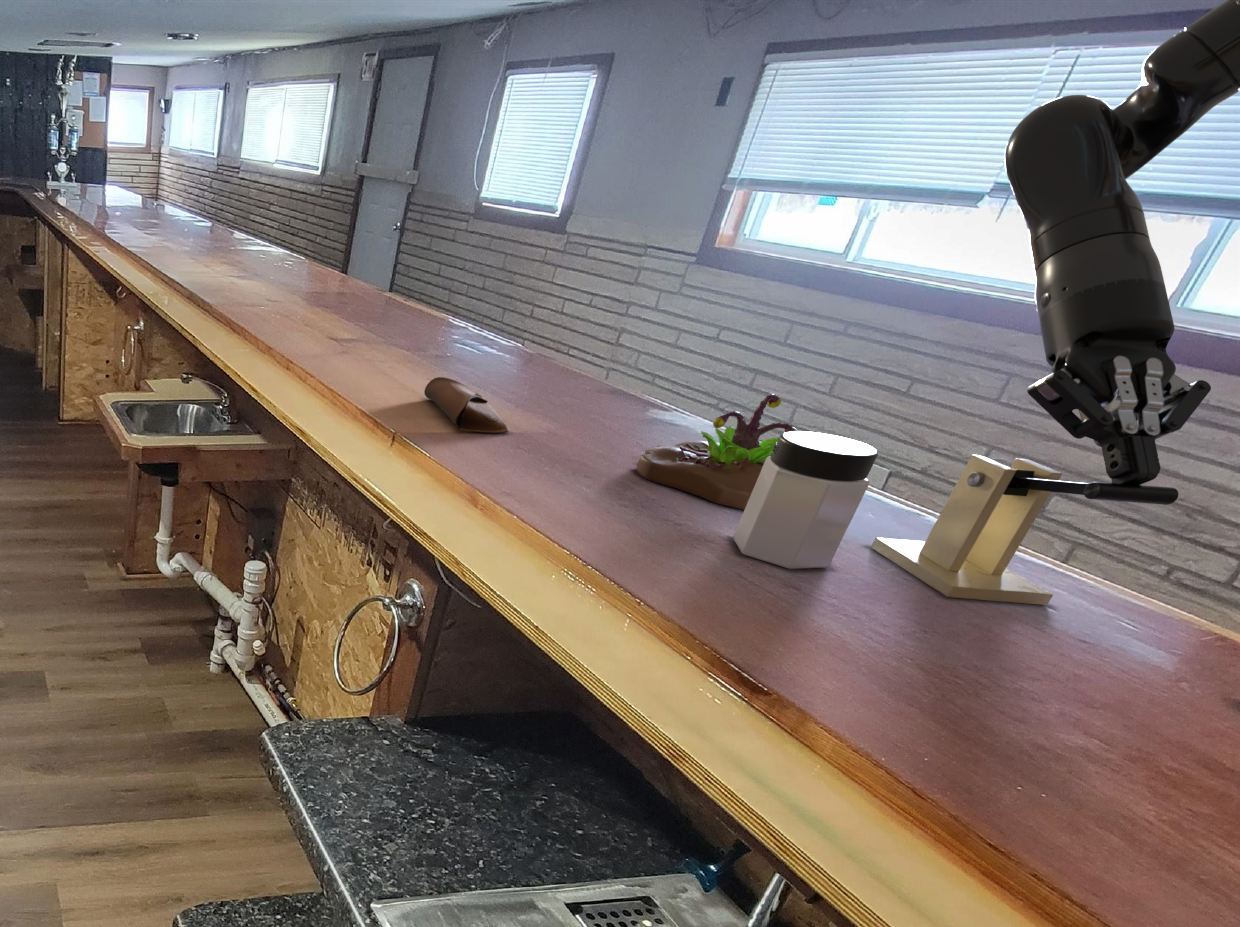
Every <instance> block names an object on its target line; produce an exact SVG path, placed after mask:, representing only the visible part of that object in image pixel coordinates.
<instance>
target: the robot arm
mask: <svg viewBox="0 0 1240 927" xmlns="http://www.w3.org/2000/svg"><path fill="white" fill-rule="evenodd" d="M1239 91H1240V0H1225V1H1223V2H1222V3H1220V4H1219V5H1217V6H1216V7H1215V8H1213V9H1211V10H1210V11H1209V12H1207V13H1205V14H1203V16H1201V17H1199V18H1198V19H1197V20H1195V21H1194V22H1192V23H1191V24H1189V25H1188V26H1186V27H1184V30H1183V29H1182V30H1180V31H1179V32H1177V33H1175V34H1174V35H1173V36H1171V37H1169V39H1166V41H1164V42H1163V43H1161V44H1160V45H1159V46H1157V47H1156V48H1155V49H1154V50H1153V51H1151V53H1149V55H1148V56H1147V57H1146V58H1145V59H1144V61H1143V63H1142V68H1141V81H1140V84H1139V85H1138V87H1137V88H1136V89H1135V90H1134V91H1133V92H1132V93H1130V95H1129V96H1128V97H1127V98H1125V99H1124V100H1123V101H1122V102H1121V103H1119V104H1118V105H1117V106H1116V107H1115V108H1113V109H1112V106H1110V105H1109V104H1108V103H1107V102H1105V101H1104V100H1103V99H1101V98H1099V97H1095V96H1092V95H1086V94H1071V95H1064V96H1060V97H1057V98H1054V99H1051V100H1049V101H1047V102H1045V103H1043V104H1041V105H1039V106H1037V108H1035V109H1033V110H1032V111H1031V112H1029V113H1028V114H1026V116H1024V117H1023V119H1021V121H1020V122H1019V123H1018V124H1017V126H1016V127H1015V128H1014V129H1013V131H1012V132H1011V134H1010V136H1009V138H1008V140H1007V142H1006V146H1005V150H1004V167H1005V172H1006V175H1007V179H1008V183H1009V185H1010V188H1011V190H1012V193H1013V195H1014V198H1015V201H1016V203H1017V207H1018V208H1019V210H1020V213H1021V215H1022V218H1023V220H1024V222H1025V225H1026V228H1027V232H1028V237H1029V249H1030V250H1029V251H1030V256H1031V261H1032V267H1033V273H1034V277H1035V288H1034V289H1035V290H1034V299H1035V305H1036V311H1037V317H1038V321H1039V327H1040V328H1039V329H1040V333H1041V339H1042V344H1043V349H1044V355H1045V361H1046V362H1047V364H1048V365H1049V366H1050V367H1052V370H1051V371H1052V373H1050V374H1049V375H1047V376H1045V377H1043V378H1042V379H1039V380H1038V381H1036V382H1034V383H1032V384H1031V385H1029V386H1027V389H1026V392H1027V394H1028V395H1029V396H1030V397H1031V399H1033V400H1034V401H1035V402H1036V403H1037V404H1038V405H1039V406H1040V407H1041V408H1042V409H1043V410H1045V411H1046V412H1047V414H1049V415H1050V416H1051V417H1052V418H1053V419H1054V420H1055V421H1056V422H1057V423H1058V424H1059V425H1060V426H1061V427H1063V429H1064V430H1065V431H1067V432H1068V433H1069V434H1070V436H1072V437H1073V438H1075V439H1078V440H1080V439H1084V438H1087V439H1091V440H1093V443H1094V444H1095V445H1096V446H1098V447H1100V448H1101V452H1102V457H1103V462H1104V466H1105V468H1104V469H1105V472H1106V474H1107V476H1108V477H1109V479H1110V480H1111V483H1117V484H1131V485H1145V484H1146V483H1148V482H1151V481H1153V480H1156V478H1157V477H1158V476H1159V474H1160V471H1161V463H1160V459H1159V458H1160V457H1159V454H1158V449H1157V444H1156V440H1158V439H1159V438H1160V439H1161V438H1162V437H1165V436H1167V435H1169V434H1172V433H1175V432H1177V431H1179V430H1181V429H1182V428H1183V426H1184V425H1185V424H1186V422H1188V420H1189V419H1190V417H1191V416H1192V415H1193V414H1194V412H1195V411H1196V410H1197V409H1198V407H1199V406H1200V404H1201V403H1202V402H1203V401H1204V400H1205V398H1206V397H1207V396H1208V395H1209V393H1210V392H1211V389H1212V386H1211V384H1210V383H1209V382H1208V381H1206V380H1204V379H1198V380H1196V381H1195V382H1193V383H1189V382H1188V381H1186V380H1185V379H1183V378H1182V377H1180V376H1178V375H1176V374H1175V373H1176V371H1177V367H1176V366H1177V365H1176V363H1175V362H1174V361H1173V360H1172V358H1171V357H1170V356H1169V355H1168V353H1167V347H1168V344H1169V342H1170V340H1171V339H1172V337H1173V335H1174V333H1175V323H1174V319H1173V314H1172V310H1171V305H1170V302H1169V298H1168V292H1167V288H1166V284H1165V279H1164V275H1163V270H1162V265H1161V263H1160V259H1159V257H1158V255H1157V253H1156V252H1155V250H1154V248H1153V245H1152V243H1151V242H1152V241H1151V239H1150V234H1149V230H1148V225H1147V221H1146V217H1145V212H1144V208H1143V206H1142V203H1141V201H1140V199H1139V197H1138V195H1137V193H1136V192H1135V190H1133V188H1132V186H1130V183H1128V181H1127V179H1129V178H1130V177H1131V176H1133V175H1134V174H1135V173H1137V172H1138V171H1139V170H1141V169H1142V168H1143V167H1144V166H1146V165H1147V164H1148V163H1149V162H1151V161H1152V160H1153V159H1155V158H1156V157H1157V156H1158V155H1159V154H1160V153H1161V152H1163V151H1164V150H1165V149H1166V148H1167V147H1169V146H1170V145H1171V144H1172V143H1174V141H1176V140H1177V139H1178V138H1180V137H1181V136H1182V135H1184V134H1185V133H1186V132H1187V131H1189V129H1190V128H1192V126H1194V125H1195V124H1196V123H1197V122H1198V121H1200V119H1202V118H1203V117H1204V116H1205V115H1206V114H1207V113H1208V112H1210V111H1211V110H1212V109H1214V108H1215V107H1216V106H1218V105H1219V104H1221V103H1223V102H1224V101H1226V100H1227V99H1230V97H1233V96H1234V95H1236V94H1238V93H1239ZM1074 410H1078V413H1079V416H1080V418H1079V417H1078V415H1076V413H1074Z"/></svg>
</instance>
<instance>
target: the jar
mask: <svg viewBox="0 0 1240 927" xmlns="http://www.w3.org/2000/svg"><path fill="white" fill-rule="evenodd" d="M778 438H779V439H778V442H777V443H776V444H775V446H774V449H773V453H772V456H768V457H767V458H766V460H765V463H764V465H763V467H762V470H761V472H760V474H759V477H758V479H757V481H756V484H755V486H754V489H753V491H752V493H751V496H750V498H749V500H748V503H747V505H746V508H745V510H743V512H742V514H741V517H740V519H739V522H738V524H737V527H736V529H735V532H734V533H733V536H732V539H733V541H734V542H735V545H736V546H737V548H738V549H739V551H740V552H741V554H742V555H744V556H747V557H749V558H753V559H757V560H760V561H763V562H766V563H769V564H772V565H775V566H778V567H781V568H785V569H788V570H799V569H800V570H802V569H826V568H828V567H830V565H831V563H832V561H833V559H834V556H835V555H836V552H837V551H838V549H839V547H840V545H841V543H842V540H843V538H844V537H845V534H846V533H847V531H848V528H849V526H850V524H851V522H852V520H853V519H854V516H855V514H856V512H857V510H858V508H859V505H860V503H861V501H862V500H863V497H864V496H865V493H866V491H867V489H868V487H869V485H870V483H871V481H870V480H869V479H868V476H869V474H870V472H871V471H872V470H871V469H872V468H873V465H874V464H875V461H876V460H877V457H878V456H879V452H878V450H877V449H876V448H875V447H873V446H871V445H869V444H868V443H865V442H862V441H858V440H856V439H851V438H848V437H844V436H839V435H835V434H828V433H824V432H823V433H822V432H814V431H805V430H804V431H802V430H797V431H792V432H785V431H784V432H783V433H781V434H780V435H779V437H778Z"/></svg>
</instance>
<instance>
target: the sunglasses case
mask: <svg viewBox="0 0 1240 927" xmlns="http://www.w3.org/2000/svg"><path fill="white" fill-rule="evenodd" d="M423 391H424V392H423V394H424V397H426V398H427V399H428V400H430V401H432V402H434V403H435V404H436V406H438V407H439V408H440V409H441V410H442V411H443V412H444V414H446V415H447V417H448V418H449V419H450V420H451V421H452V422H453V423H454V424H455V425H456V426H457V428H458V430H459V431H460V432H467V433H475V434H505V433H509V428H508V426H507V424H506V423H505V421H504V420H503V419H502V418H501V416H500V415H499V414H498V412H497V411H496V410H495V409H494V408H493V407H491V406H490V404H488V402H489V400H488V399H487V398H486V397H485V396H483V395H482V394H480V393H479V392H477V391H475V390H474V389H472V388H470V387H469V386H468V385H466V384H464V383H462V382H460V381H458V380H455V379H451V378H449V377H443V376H438V377H437V376H436V377H434V378H433V379H431V380H430V381H429V382H428V383H427V384H426V385H425V388H424V390H423Z"/></svg>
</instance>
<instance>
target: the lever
mask: <svg viewBox="0 0 1240 927" xmlns="http://www.w3.org/2000/svg"><path fill="white" fill-rule="evenodd" d="M1034 473H1035V471H1028V470H1016V472H1015V474H1014V476H1013V477H1012V479H1011V481H1010V483H1009V484H1008V486H1007V488H1006V490H1005V491H1004V493H1003V495H1014V496H1027V494H1028V491H1029V490H1039V491H1049V492H1051V493H1059V494H1069V495H1078V496H1079V495H1080V496H1084V497H1085V498H1086V499H1087V500H1096V501H1108V502H1109V501H1111V502H1124V503H1137V504H1138V503H1139V504H1150V505H1163V506H1164V505H1165V506H1168V505H1173V504H1174V503H1175V502H1176V501H1177V500H1178V498H1179V491H1178V489H1177V488H1175V487H1171V486H1157V485H1145V484H1141V485H1131V484H1117V483H1112V482H1105V481H1104V482H1103V481H1093V482H1090V483H1089V482H1088V483H1087V482H1077V481H1064V480H1058V481H1055V480H1043V479H1033V476H1034Z"/></svg>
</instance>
